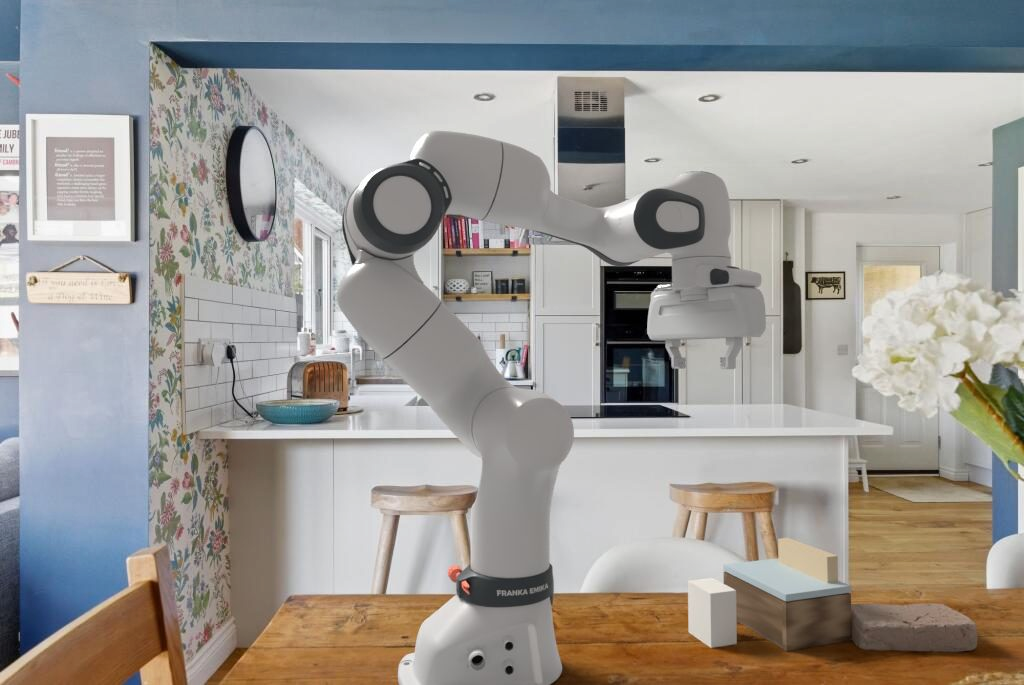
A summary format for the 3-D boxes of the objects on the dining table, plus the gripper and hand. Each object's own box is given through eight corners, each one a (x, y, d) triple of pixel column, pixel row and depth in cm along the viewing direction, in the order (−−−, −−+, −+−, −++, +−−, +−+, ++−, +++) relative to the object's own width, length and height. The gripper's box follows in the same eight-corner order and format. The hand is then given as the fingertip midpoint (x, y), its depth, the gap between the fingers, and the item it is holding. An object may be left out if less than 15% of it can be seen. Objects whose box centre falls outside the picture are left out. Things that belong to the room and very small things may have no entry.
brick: (862, 652, 97) (862, 620, 97) (838, 629, 106) (838, 599, 106) (980, 656, 96) (980, 623, 96) (946, 632, 104) (946, 602, 105)
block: (711, 648, 98) (710, 593, 99) (688, 632, 104) (687, 580, 104) (736, 644, 100) (736, 590, 100) (713, 628, 105) (712, 577, 106)
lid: (785, 601, 97) (785, 567, 97) (723, 570, 112) (723, 540, 112) (850, 592, 101) (850, 559, 101) (782, 563, 115) (782, 534, 115)
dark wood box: (786, 651, 97) (785, 602, 97) (724, 613, 111) (723, 571, 112) (851, 640, 101) (850, 593, 101) (783, 605, 115) (782, 564, 115)
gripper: (638, 284, 109) (638, 368, 109) (744, 270, 92) (745, 369, 92) (664, 286, 113) (665, 368, 113) (771, 273, 96) (772, 369, 96)
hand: (702, 368), depth 102 cm, fingers open, 8 cm apart
